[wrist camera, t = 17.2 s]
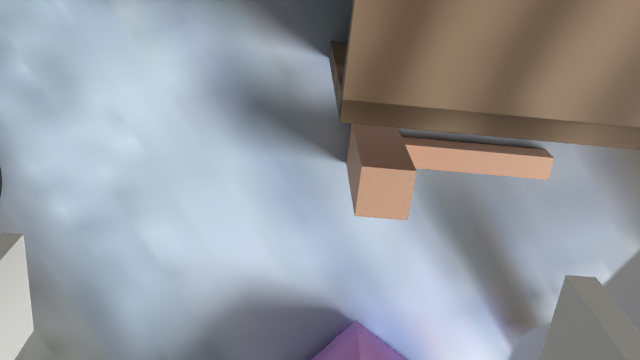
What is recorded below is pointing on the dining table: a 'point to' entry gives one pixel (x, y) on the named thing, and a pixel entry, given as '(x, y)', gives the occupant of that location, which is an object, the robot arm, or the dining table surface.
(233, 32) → the dining table surface
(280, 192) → the dining table surface
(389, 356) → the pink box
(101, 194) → the dining table surface
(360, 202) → the l-shaped block
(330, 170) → the dining table surface
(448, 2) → the shelf
